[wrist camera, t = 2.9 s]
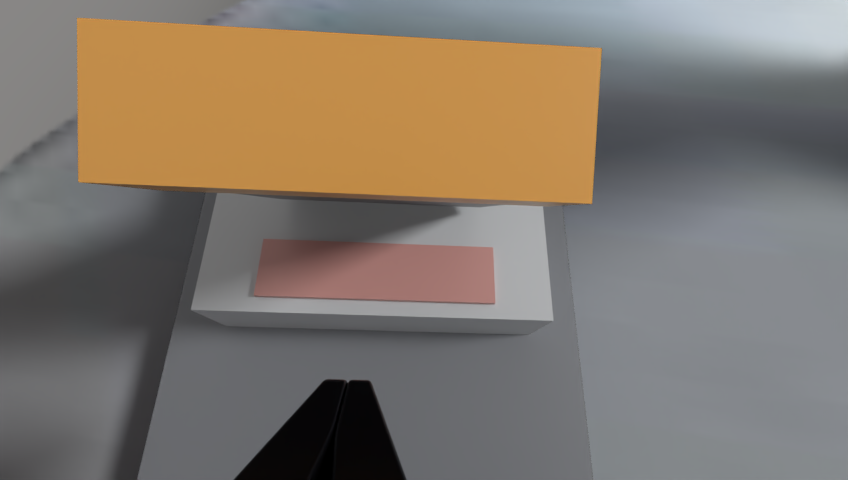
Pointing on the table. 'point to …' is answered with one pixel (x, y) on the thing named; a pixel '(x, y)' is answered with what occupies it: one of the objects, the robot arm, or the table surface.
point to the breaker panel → (376, 336)
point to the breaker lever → (335, 115)
